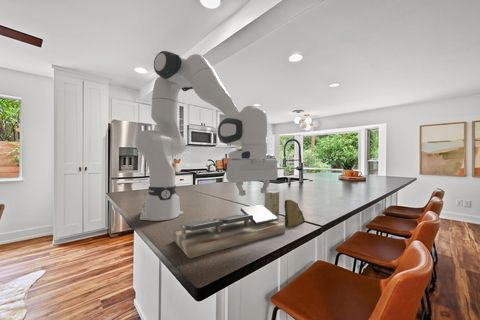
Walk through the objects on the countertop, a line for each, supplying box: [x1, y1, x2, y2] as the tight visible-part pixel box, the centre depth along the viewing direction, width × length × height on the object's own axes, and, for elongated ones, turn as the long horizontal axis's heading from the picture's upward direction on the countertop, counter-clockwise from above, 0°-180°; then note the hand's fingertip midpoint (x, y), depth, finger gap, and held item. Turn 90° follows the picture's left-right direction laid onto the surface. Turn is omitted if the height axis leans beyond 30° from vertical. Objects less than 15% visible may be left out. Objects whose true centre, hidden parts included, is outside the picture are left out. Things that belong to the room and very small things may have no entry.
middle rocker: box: [212, 214, 253, 224], centre depth 71 cm, size 10×10×1 cm
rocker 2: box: [240, 204, 279, 225], centre depth 77 cm, size 10×10×1 cm
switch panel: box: [173, 210, 286, 259], centre depth 71 cm, size 14×36×6 cm, turn 124°
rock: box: [283, 199, 306, 228], centre depth 85 cm, size 11×9×10 cm
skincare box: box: [264, 190, 280, 219], centre depth 91 cm, size 6×4×12 cm
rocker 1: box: [180, 219, 223, 231], centre depth 64 cm, size 10×10×1 cm
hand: (253, 194), depth 71 cm, fingers open, 8 cm apart
